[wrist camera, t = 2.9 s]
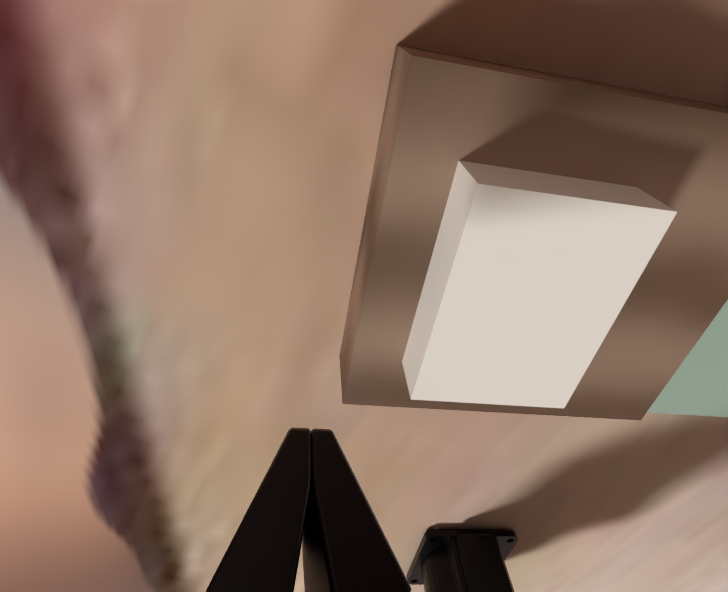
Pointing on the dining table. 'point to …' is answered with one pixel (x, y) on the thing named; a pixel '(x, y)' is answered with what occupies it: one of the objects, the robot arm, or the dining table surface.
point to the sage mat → (700, 376)
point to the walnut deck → (551, 156)
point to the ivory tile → (526, 284)
